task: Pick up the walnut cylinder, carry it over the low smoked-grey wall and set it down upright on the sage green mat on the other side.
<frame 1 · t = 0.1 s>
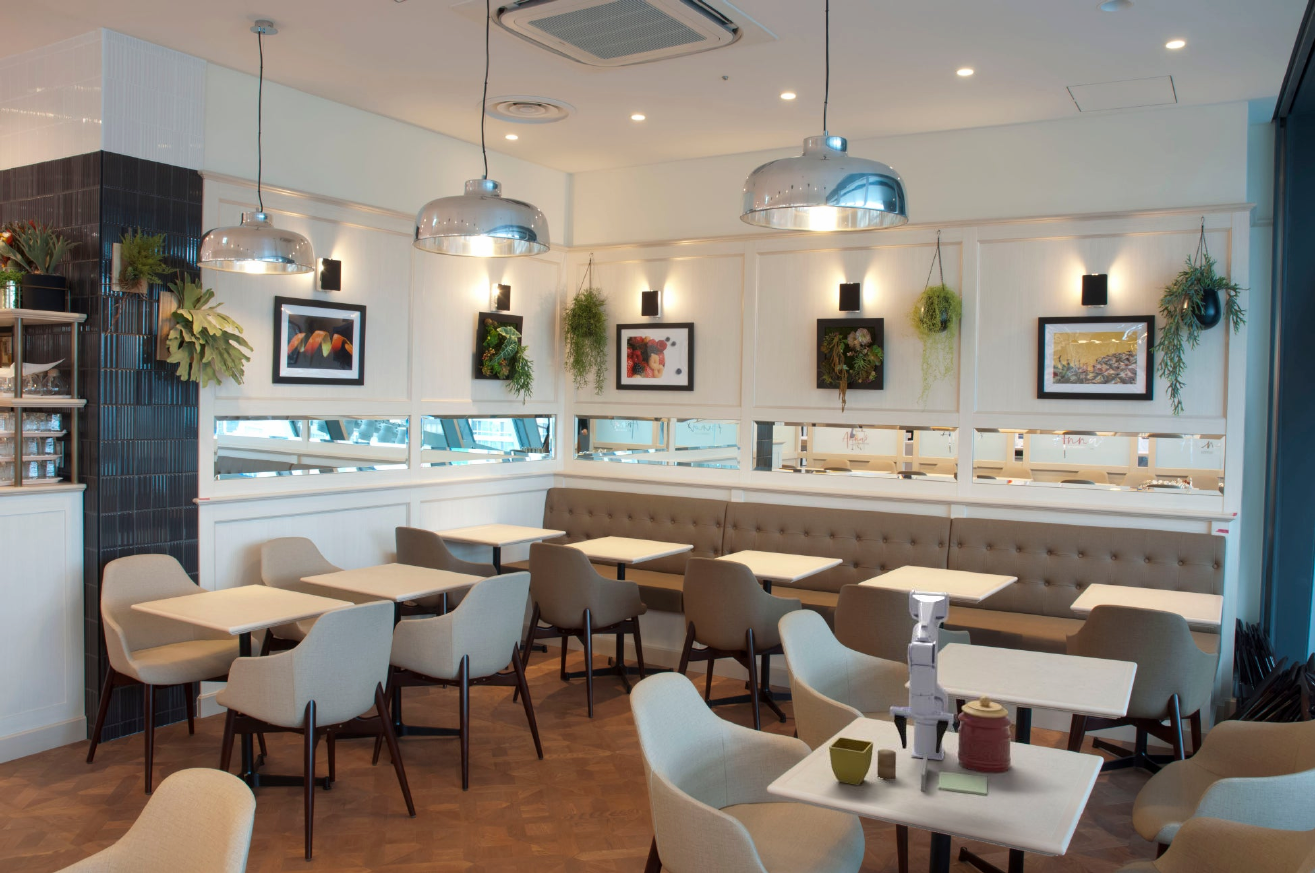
hand: (921, 749, 228), 10 cm above the table, tool pointing down, fingers open, 7 cm apart
walnut cylinder: (886, 776, 238), on the table
grey wall: (924, 779, 237), on the table
canister: (983, 765, 247), on the table
green mat: (962, 783, 234), on the table
flower pot: (850, 781, 235), on the table
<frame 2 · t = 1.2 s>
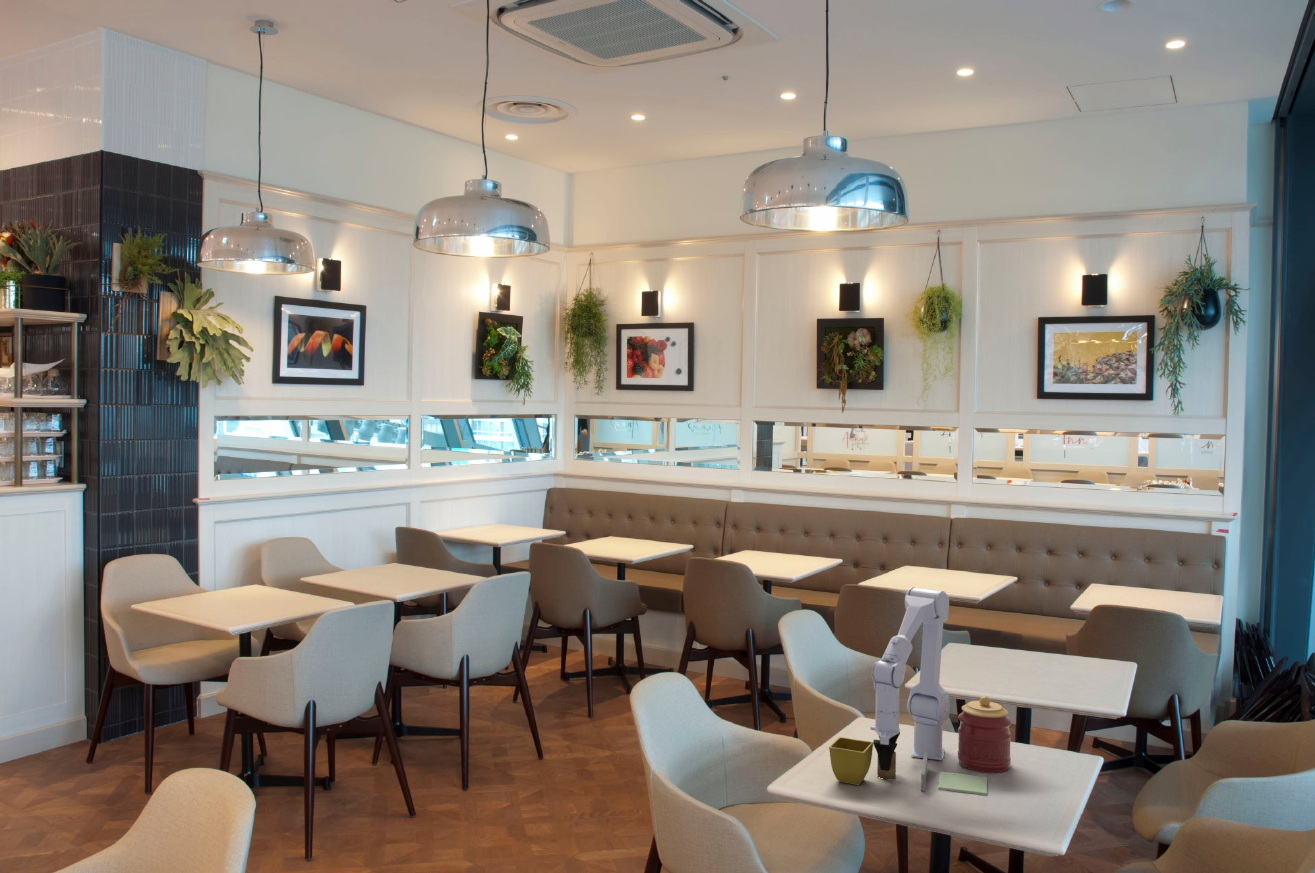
hand: (886, 764, 238), 3 cm above the table, tool pointing down, fingers open, 7 cm apart
nothing on the table moved.
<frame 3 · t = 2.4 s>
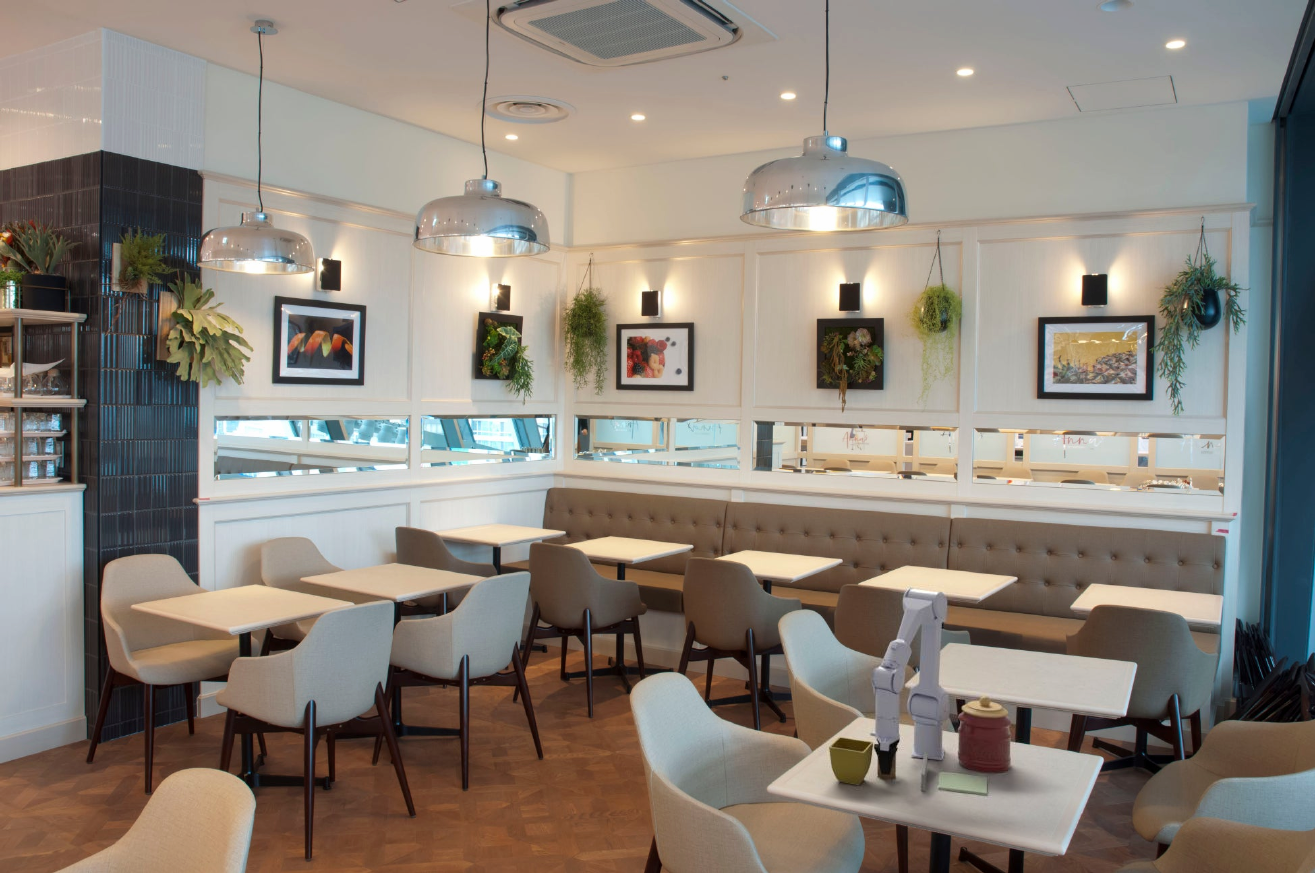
hand: (886, 770, 238), 1 cm above the table, tool pointing down, fingers closed on walnut cylinder, 4 cm apart
walnut cylinder: (886, 776, 238), on the table, touching gripper
everything else where it was.
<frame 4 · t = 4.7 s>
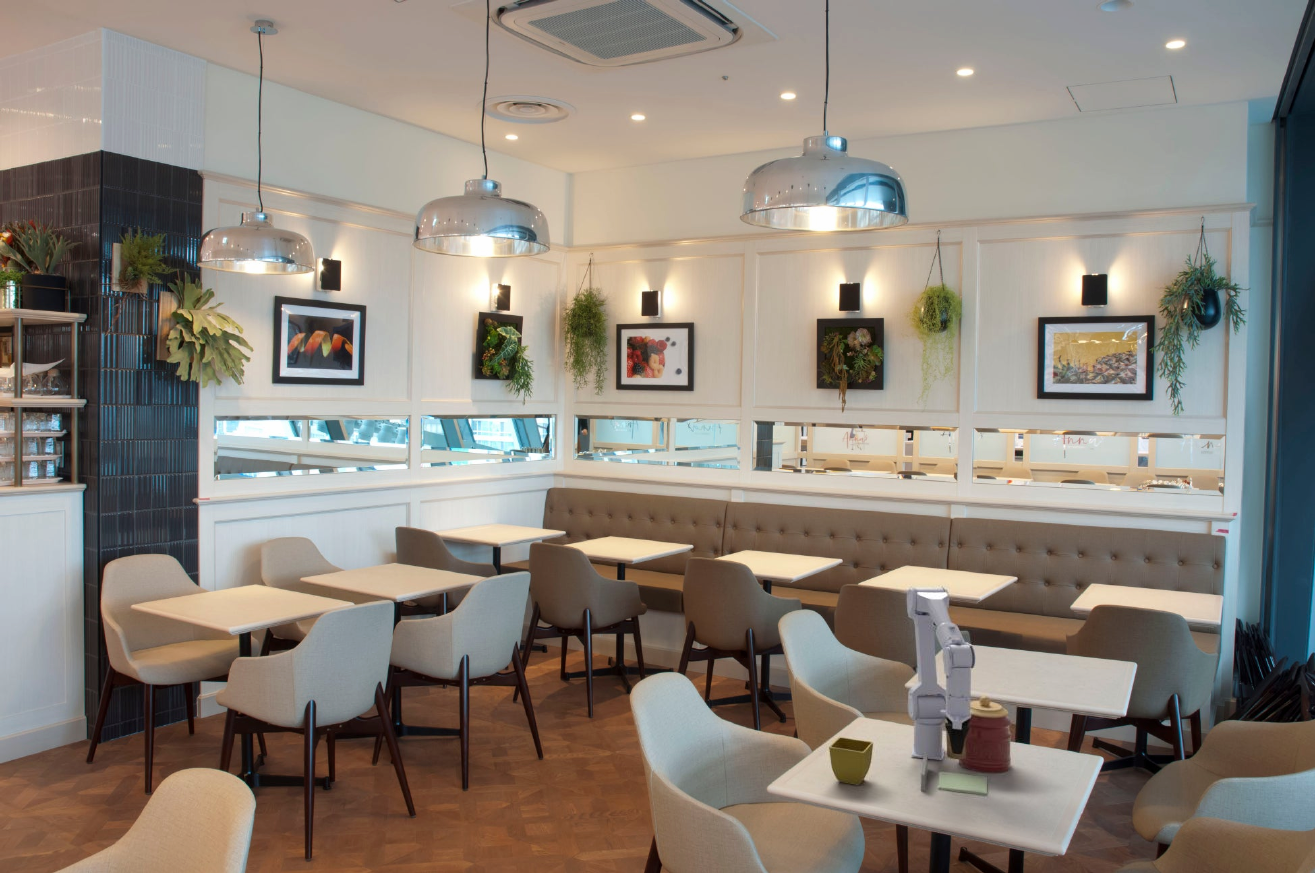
hand: (957, 750, 233), 8 cm above the table, tool pointing down, fingers closed on walnut cylinder, 4 cm apart
walnut cylinder: (956, 756, 233), point 7 cm above the table, touching gripper
everything else where it was.
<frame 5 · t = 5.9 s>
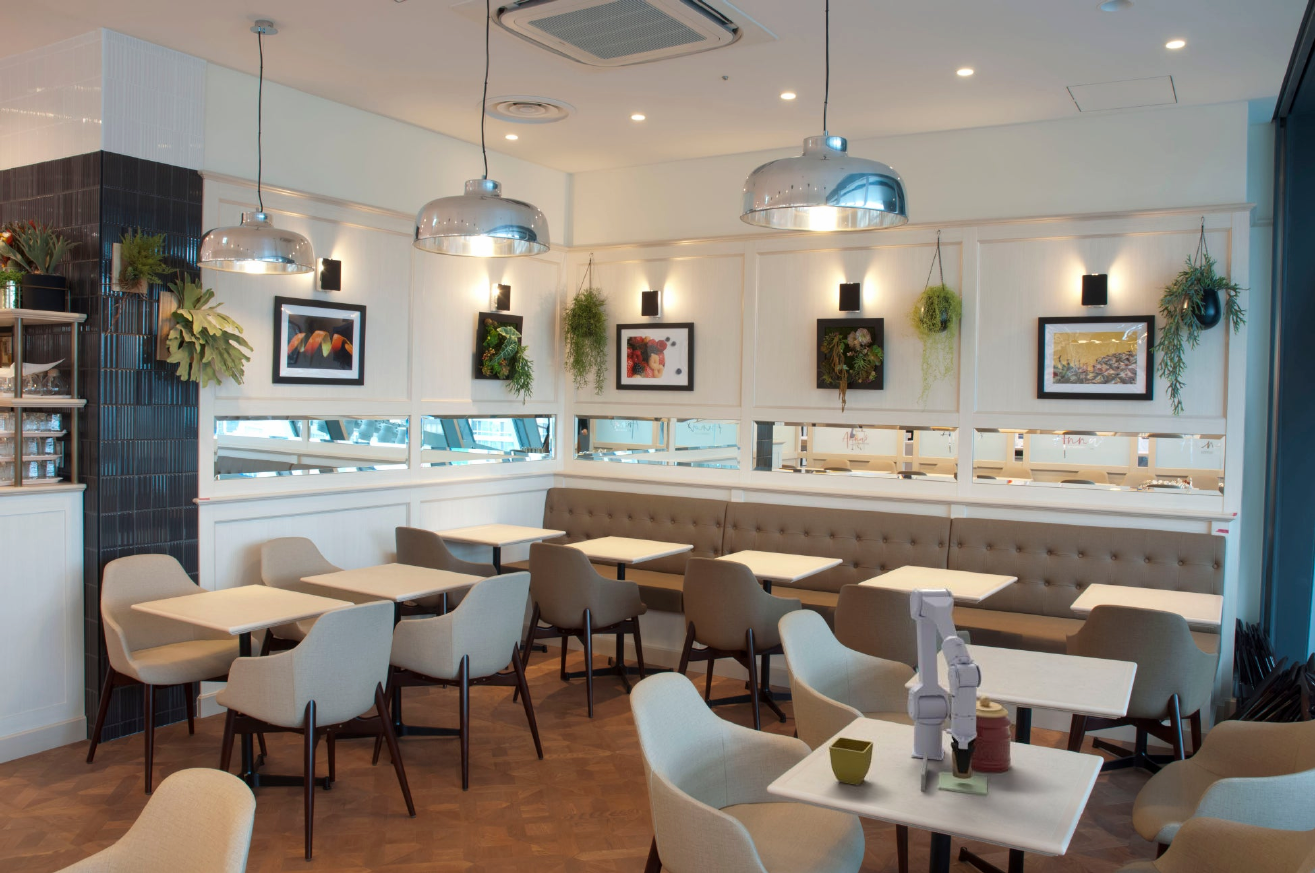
hand: (962, 769, 233), 4 cm above the table, tool pointing down, fingers closed on walnut cylinder, 4 cm apart
walnut cylinder: (962, 775, 233), point 2 cm above the table, touching gripper
everything else where it was.
when the fingers open (3 cm above the table, at t = 7.0 s): walnut cylinder stays where it is, resting on green mat.
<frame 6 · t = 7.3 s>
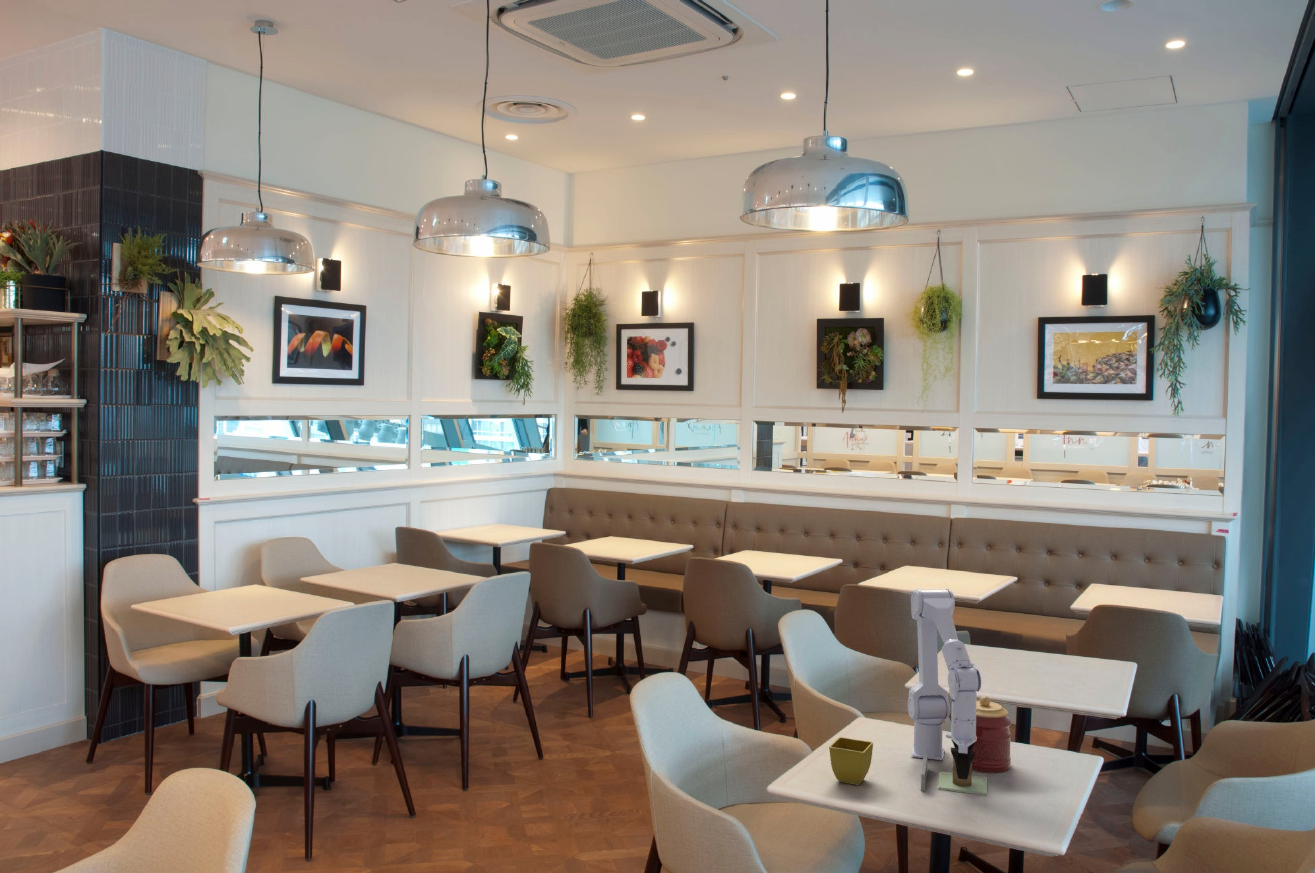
hand: (962, 773, 233), 3 cm above the table, tool pointing down, fingers open, 6 cm apart
walnut cylinder: (962, 783, 233), point 1 cm above the table, touching green mat
everything else where it was.
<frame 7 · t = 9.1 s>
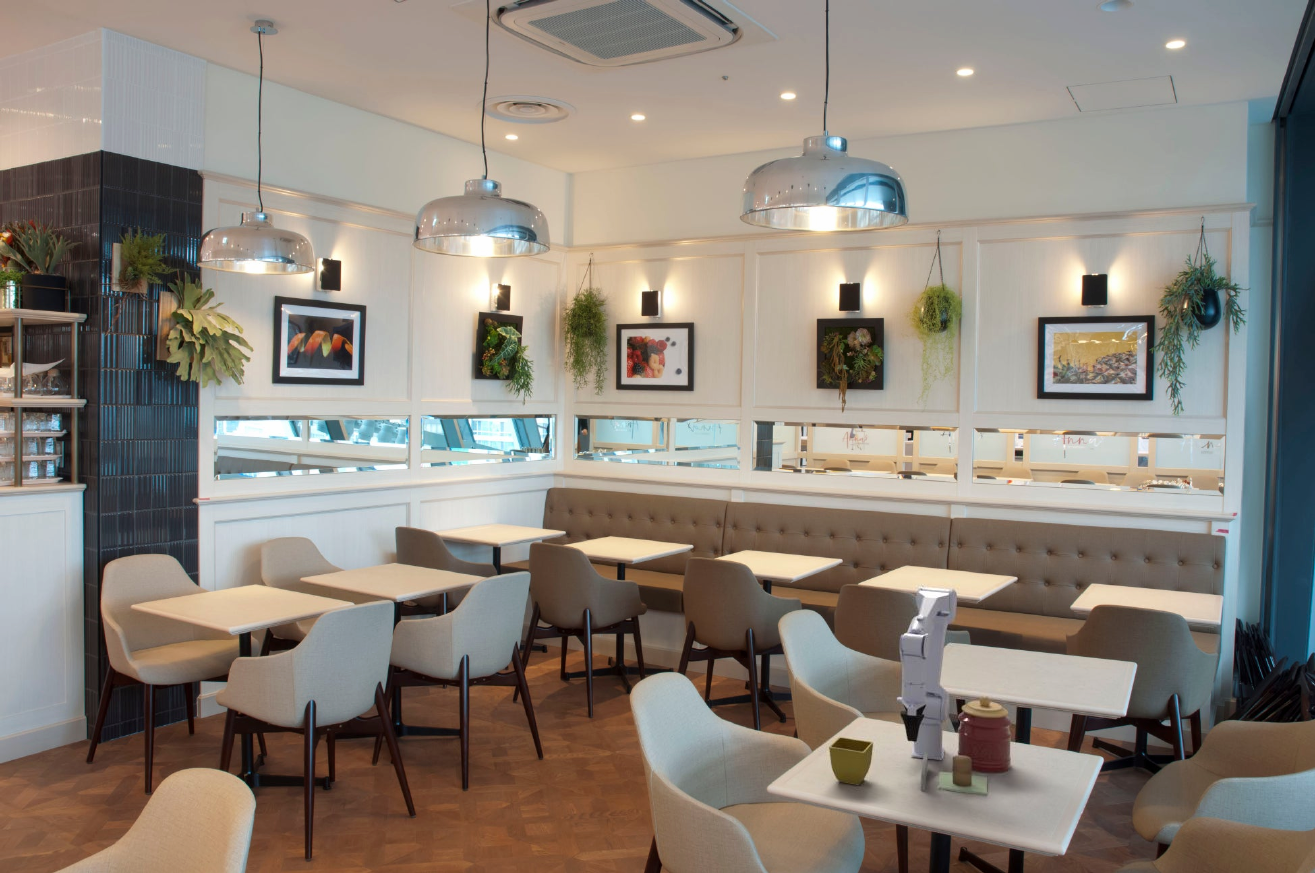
hand: (913, 736, 240), 9 cm above the table, tool pointing down, fingers open, 7 cm apart
nothing on the table moved.
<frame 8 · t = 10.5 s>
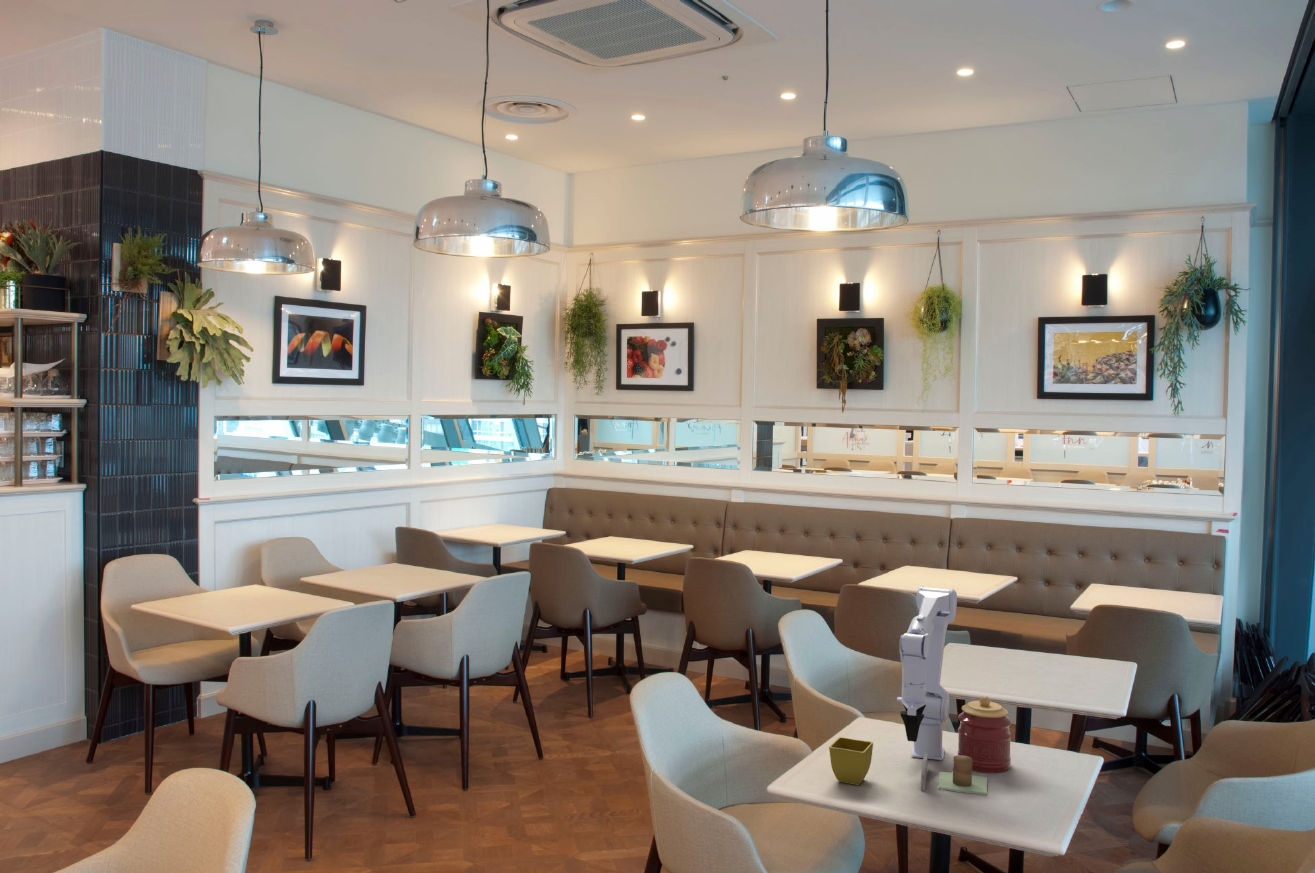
hand: (913, 736, 240), 9 cm above the table, tool pointing down, fingers open, 7 cm apart
nothing on the table moved.
at the end: walnut cylinder inside the target area on the green mat (1.0 cm from its centre), point 0.6 cm above the green mat's base; walnut cylinder tilted 2°; the gripper is holding nothing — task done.
